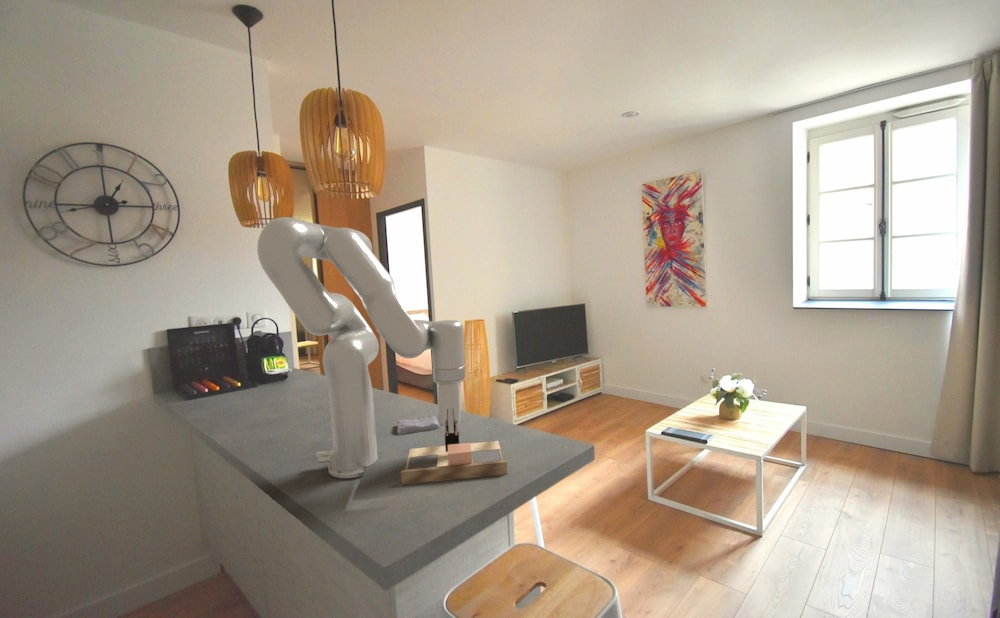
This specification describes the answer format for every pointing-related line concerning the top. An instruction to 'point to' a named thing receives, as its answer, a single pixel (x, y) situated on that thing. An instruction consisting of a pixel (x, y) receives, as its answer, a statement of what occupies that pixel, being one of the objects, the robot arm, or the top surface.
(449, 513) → the top surface
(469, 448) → the terracotta block
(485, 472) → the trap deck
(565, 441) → the top surface
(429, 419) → the stone block
